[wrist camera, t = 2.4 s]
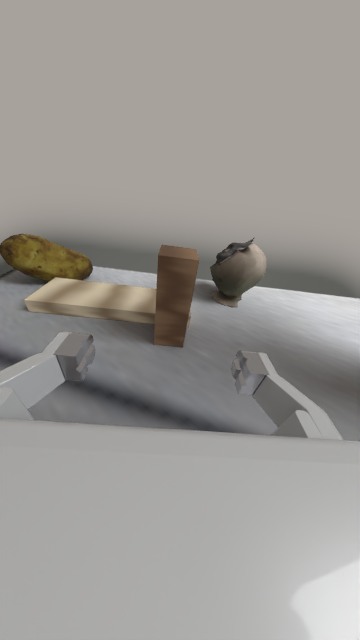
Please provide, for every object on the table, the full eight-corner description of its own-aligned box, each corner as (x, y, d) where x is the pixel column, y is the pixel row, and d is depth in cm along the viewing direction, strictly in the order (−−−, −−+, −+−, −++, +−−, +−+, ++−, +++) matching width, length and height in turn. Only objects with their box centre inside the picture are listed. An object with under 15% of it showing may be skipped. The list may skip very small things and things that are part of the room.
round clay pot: (203, 284, 42) (205, 306, 34) (215, 229, 36) (221, 239, 27) (244, 291, 43) (256, 313, 34) (264, 237, 36) (285, 249, 27)
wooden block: (181, 305, 33) (192, 236, 26) (182, 347, 24) (199, 260, 17) (160, 303, 33) (165, 232, 26) (153, 344, 24) (158, 255, 17)
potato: (85, 291, 33) (75, 246, 28) (5, 286, 31) (-20, 237, 26) (97, 274, 39) (90, 235, 35) (32, 269, 37) (16, 227, 33)
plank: (186, 301, 34) (188, 292, 33) (188, 327, 28) (190, 317, 27) (58, 287, 33) (55, 277, 31) (28, 311, 26) (23, 299, 25)
